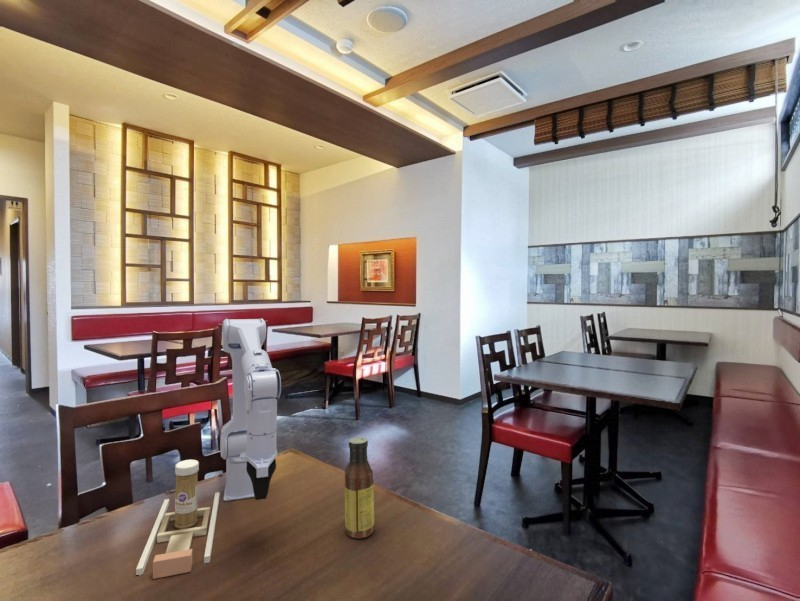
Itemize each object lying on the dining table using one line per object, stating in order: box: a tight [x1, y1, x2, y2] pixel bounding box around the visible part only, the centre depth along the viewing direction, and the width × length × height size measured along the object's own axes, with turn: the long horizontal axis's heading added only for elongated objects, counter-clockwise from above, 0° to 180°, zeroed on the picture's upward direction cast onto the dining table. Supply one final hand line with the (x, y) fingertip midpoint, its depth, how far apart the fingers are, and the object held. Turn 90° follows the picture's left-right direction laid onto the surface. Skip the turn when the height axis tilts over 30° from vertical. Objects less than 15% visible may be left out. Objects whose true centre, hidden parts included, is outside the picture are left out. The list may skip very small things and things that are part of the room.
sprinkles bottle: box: [173, 459, 200, 530], centre depth 90 cm, size 5×5×14 cm
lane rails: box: [135, 491, 221, 576], centre depth 87 cm, size 12×26×1 cm, turn 20°
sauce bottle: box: [343, 436, 375, 539], centre depth 88 cm, size 7×6×20 cm
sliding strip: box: [152, 506, 211, 580], centre depth 83 cm, size 9×20×3 cm, turn 20°
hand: (260, 497), depth 83 cm, fingers closed
